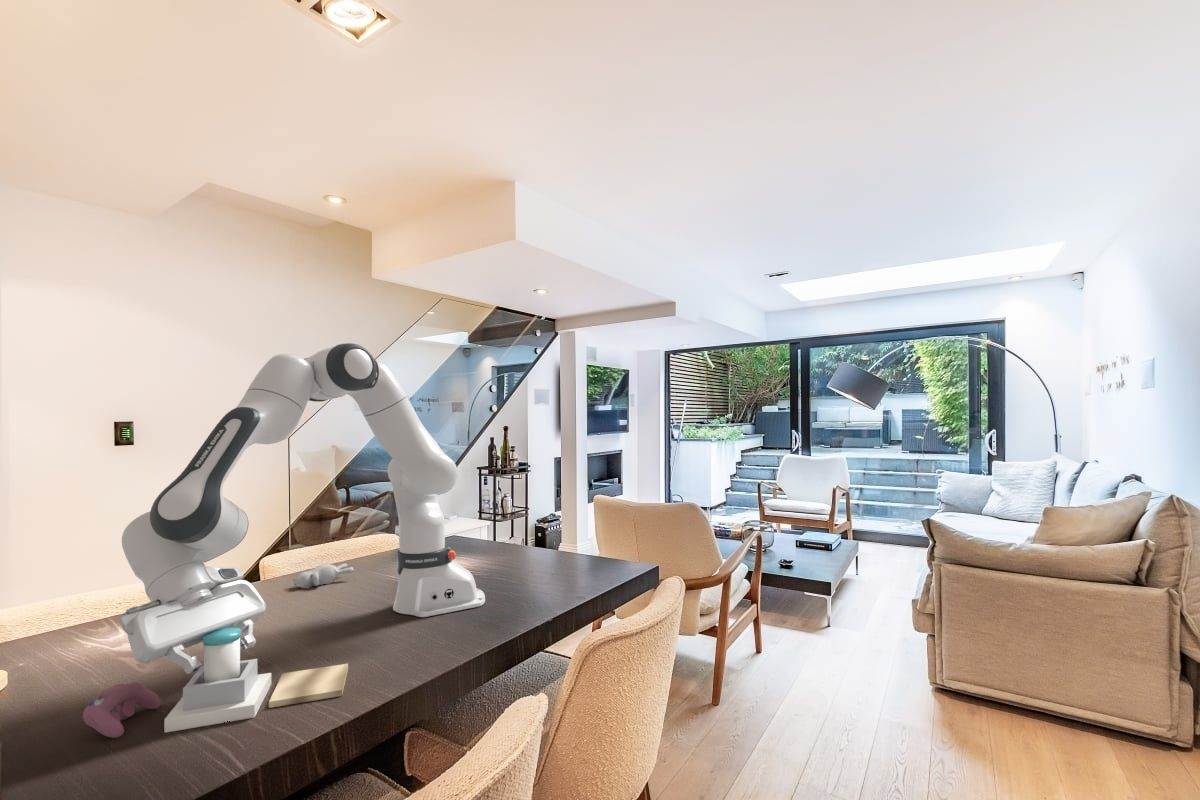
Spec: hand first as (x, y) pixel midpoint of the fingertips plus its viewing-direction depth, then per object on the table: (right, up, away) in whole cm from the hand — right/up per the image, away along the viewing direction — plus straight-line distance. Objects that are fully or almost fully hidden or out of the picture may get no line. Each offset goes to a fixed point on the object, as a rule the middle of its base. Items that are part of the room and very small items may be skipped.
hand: (224, 657), depth 93 cm
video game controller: (-13, -8, -5) cm, 16 cm away
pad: (+11, -8, +6) cm, 15 cm away
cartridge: (0, -6, 0) cm, 6 cm away
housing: (0, -8, 0) cm, 8 cm away
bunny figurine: (-18, -11, +70) cm, 73 cm away
